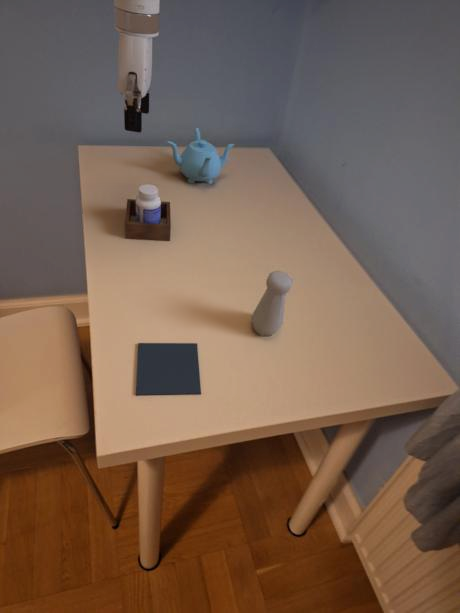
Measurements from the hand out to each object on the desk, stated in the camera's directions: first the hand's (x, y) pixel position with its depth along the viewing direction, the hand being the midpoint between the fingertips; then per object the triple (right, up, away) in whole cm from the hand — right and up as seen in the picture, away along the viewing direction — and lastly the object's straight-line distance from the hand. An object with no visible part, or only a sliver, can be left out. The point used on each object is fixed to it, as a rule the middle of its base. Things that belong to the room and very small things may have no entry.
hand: (137, 121), depth 83 cm
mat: (+9, -48, -16) cm, 51 cm away
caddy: (0, -20, +10) cm, 22 cm away
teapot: (+10, -2, +29) cm, 31 cm away
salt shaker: (+25, -42, -6) cm, 49 cm away
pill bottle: (0, -20, +10) cm, 22 cm away
